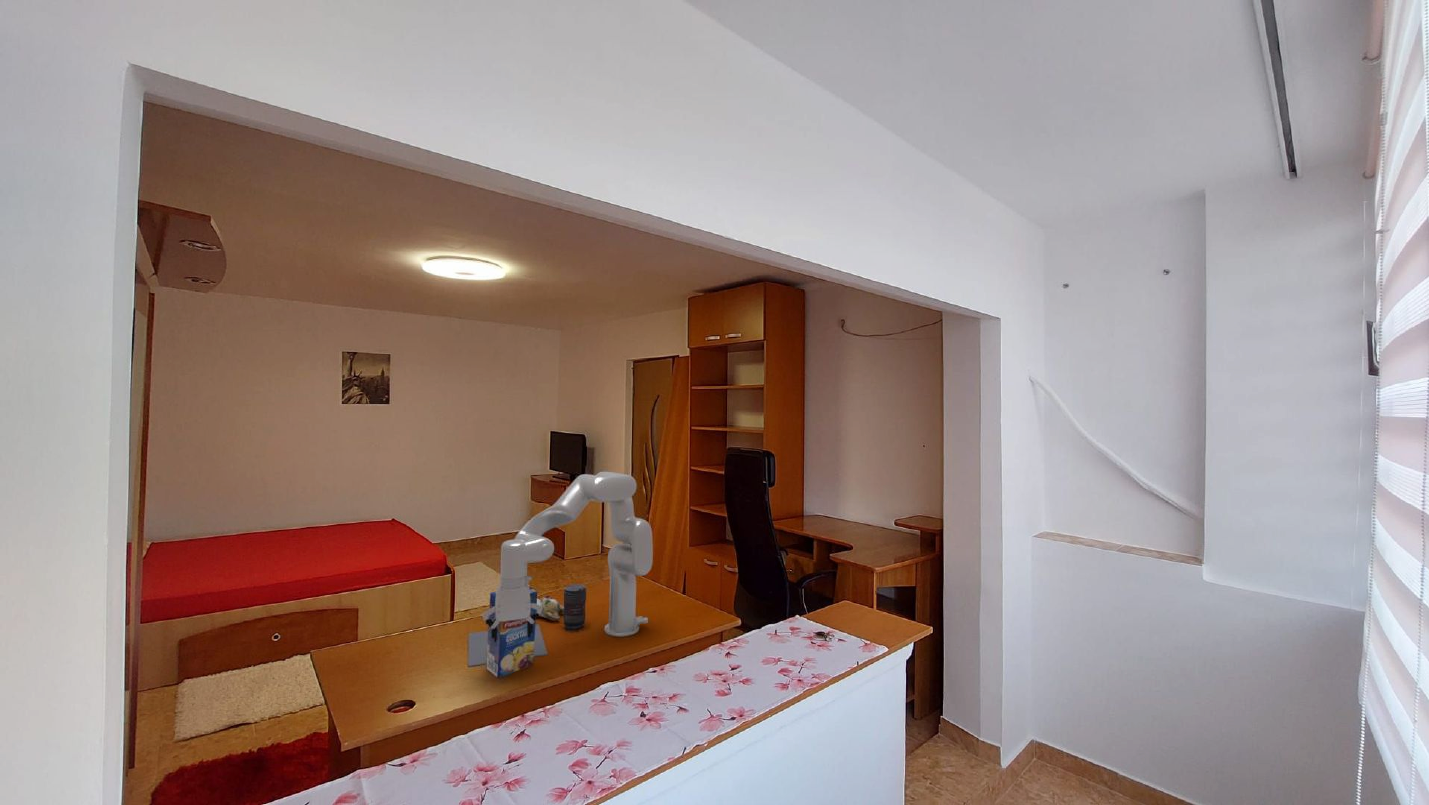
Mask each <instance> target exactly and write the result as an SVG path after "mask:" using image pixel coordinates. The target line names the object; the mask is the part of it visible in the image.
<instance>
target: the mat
mask: <svg viewBox="0 0 1429 805" xmlns="http://www.w3.org/2000/svg"><path fill="white" fill-rule="evenodd" d="M487 644H488V630H484V631H476V632H470V633H469V632H468V647H467V648H468V649H467V651H468V656H467V657H468V658H467V659H468V660H467V664H468V666H467V667H468V668H470V667H478V666H486V661H487ZM543 656H548V652H547V648H546V644H545V641H544V637H543V634H542V631H541V627H540V624H539V623H538V624H535V640H534V655H533V658H540V657H543Z"/></svg>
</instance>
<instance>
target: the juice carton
mask: <svg viewBox="0 0 1429 805" xmlns="http://www.w3.org/2000/svg"><path fill="white" fill-rule="evenodd" d="M529 589H530V602H532V603H535V604H537V599H538V590H536V589H535V588H533V587H530V586H529ZM496 592H497V590H496V591H494V592H493V591H492V592H490V593H489V594H490V596H489V609H491V608H492V607H494V606H495V599H496ZM535 612H536V609H533V608H531V613H530V615H531V616H533V614H534V613H535ZM488 617H489V619H491V620H492V621H493V620H494V619H495V612H494V613H492V614H490V615H489V616H488ZM536 621H537V619H536V620H535V621H534V623H533V633H531V637H528V635H527V622H528V620H527V619H520V620H512V621H504V622H499V624H498V625H497V641H496V642H494V638H492V628H491V627H490V626H489V625H488V626H487V627H488V630H487V631H488V644H487V661H486V665H485V669H487V670H488V671H489V672H490V673H491V674H493V676H495V677H496V678H498V679H499V678H502V677H504V676H507V675H509V674H513V673H515V672H517V671H520V670H523V669H525V668H528V667H531V666H533V665H534V657H533V655H534V640H535V625H537V624H536V623H537V622H536Z"/></svg>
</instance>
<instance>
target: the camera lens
mask: <svg viewBox="0 0 1429 805" xmlns="http://www.w3.org/2000/svg"><path fill="white" fill-rule="evenodd" d="M586 602H587V587H586V585H584V584H570V585H567V586H565V587H564V590H563V607H564V613H563V625H564V629H565V631H568V632H577V631H580V630H583V628H584V625H585V622H586Z"/></svg>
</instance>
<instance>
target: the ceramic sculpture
mask: <svg viewBox="0 0 1429 805" xmlns="http://www.w3.org/2000/svg"><path fill="white" fill-rule="evenodd" d="M537 605H540V606H542V608H543V609H542V611H541V613H540V615H539V617H541V618H542V617H543V618H545V619H547V620H550V621H558V620H562V617H561V616H560V614H564V605H561V604H560V602H559V601H558V600H557V599H556V598H551V597H550V595H546V596H543V597H542V598H541V599H539V598H537Z"/></svg>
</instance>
